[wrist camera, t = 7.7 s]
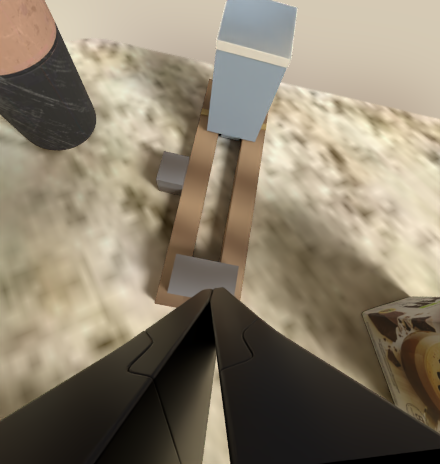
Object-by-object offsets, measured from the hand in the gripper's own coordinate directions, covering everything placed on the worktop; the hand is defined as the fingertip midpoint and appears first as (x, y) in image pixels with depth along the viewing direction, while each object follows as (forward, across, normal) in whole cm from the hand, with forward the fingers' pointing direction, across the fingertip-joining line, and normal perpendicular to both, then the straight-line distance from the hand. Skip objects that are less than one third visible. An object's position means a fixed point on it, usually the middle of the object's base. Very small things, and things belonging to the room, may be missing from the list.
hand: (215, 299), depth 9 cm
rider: (+22, +2, +7) cm, 23 cm away
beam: (+17, -1, +1) cm, 17 cm away
